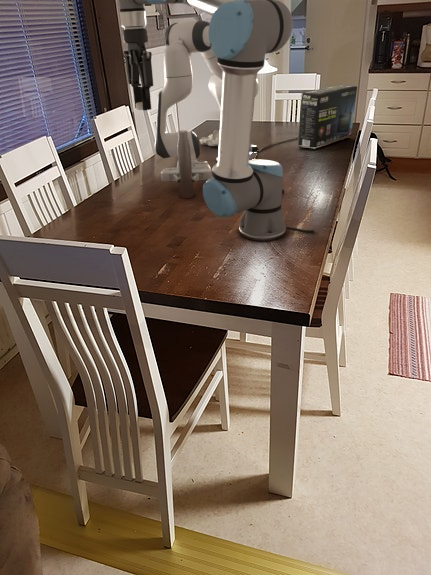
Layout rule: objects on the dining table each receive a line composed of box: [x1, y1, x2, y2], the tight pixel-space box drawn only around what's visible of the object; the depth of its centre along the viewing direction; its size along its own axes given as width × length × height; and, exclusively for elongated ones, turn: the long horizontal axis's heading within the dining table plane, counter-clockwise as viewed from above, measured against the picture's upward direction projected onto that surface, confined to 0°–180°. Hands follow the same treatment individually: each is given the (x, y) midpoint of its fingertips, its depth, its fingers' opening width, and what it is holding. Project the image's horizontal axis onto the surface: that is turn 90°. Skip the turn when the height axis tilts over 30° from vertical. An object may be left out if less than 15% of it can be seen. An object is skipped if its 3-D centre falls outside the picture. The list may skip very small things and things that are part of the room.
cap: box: [135, 102, 144, 111], centre depth 152 cm, size 4×4×2 cm
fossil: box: [199, 129, 220, 148], centre depth 250 cm, size 18×11×15 cm
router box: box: [297, 84, 358, 151], centre depth 238 cm, size 36×11×27 cm, turn 134°
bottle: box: [177, 129, 194, 199], centre depth 175 cm, size 5×5×25 cm
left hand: (186, 180), depth 178 cm, fingers closed on bottle, 5 cm apart
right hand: (143, 108), depth 152 cm, fingers closed on cap, 4 cm apart
